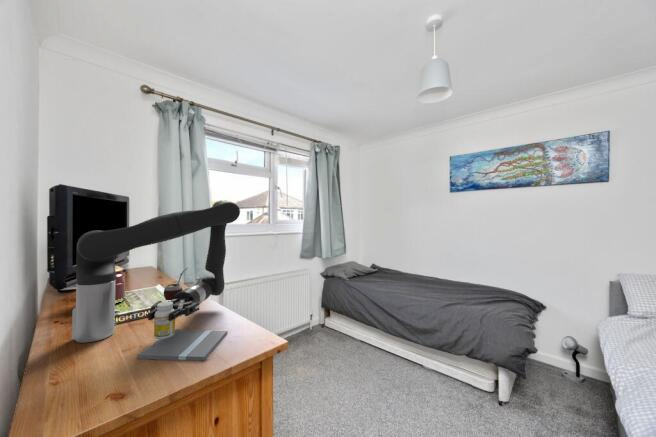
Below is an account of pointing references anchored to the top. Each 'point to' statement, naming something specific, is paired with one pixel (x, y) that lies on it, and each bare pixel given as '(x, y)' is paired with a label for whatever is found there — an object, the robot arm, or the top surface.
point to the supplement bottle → (163, 321)
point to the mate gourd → (172, 289)
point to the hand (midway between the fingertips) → (159, 317)
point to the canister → (119, 283)
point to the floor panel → (184, 345)
